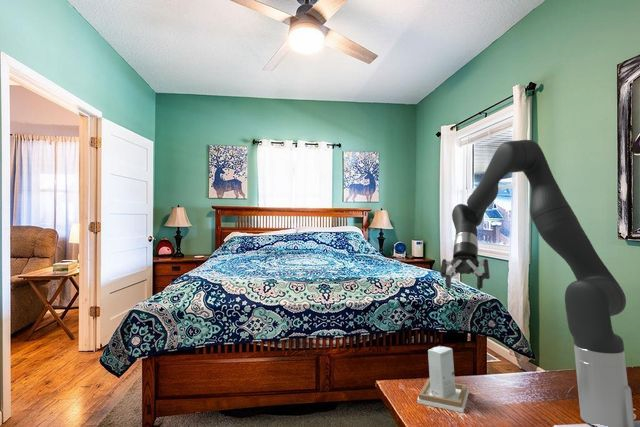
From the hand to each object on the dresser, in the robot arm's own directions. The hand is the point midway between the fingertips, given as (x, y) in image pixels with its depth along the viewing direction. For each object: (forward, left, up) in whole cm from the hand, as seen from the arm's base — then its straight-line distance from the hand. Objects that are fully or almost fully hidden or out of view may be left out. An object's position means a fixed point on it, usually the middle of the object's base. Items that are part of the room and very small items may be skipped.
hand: (463, 287), depth 103 cm
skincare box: (+6, +12, -28) cm, 31 cm away
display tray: (+6, +12, -29) cm, 32 cm away
